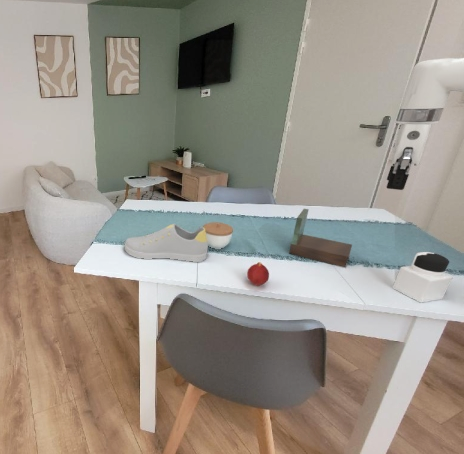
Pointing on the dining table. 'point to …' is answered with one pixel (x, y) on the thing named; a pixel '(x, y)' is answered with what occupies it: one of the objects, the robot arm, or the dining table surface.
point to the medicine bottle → (424, 277)
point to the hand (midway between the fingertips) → (394, 184)
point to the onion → (258, 274)
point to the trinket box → (218, 234)
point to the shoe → (170, 244)
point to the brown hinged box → (318, 246)
